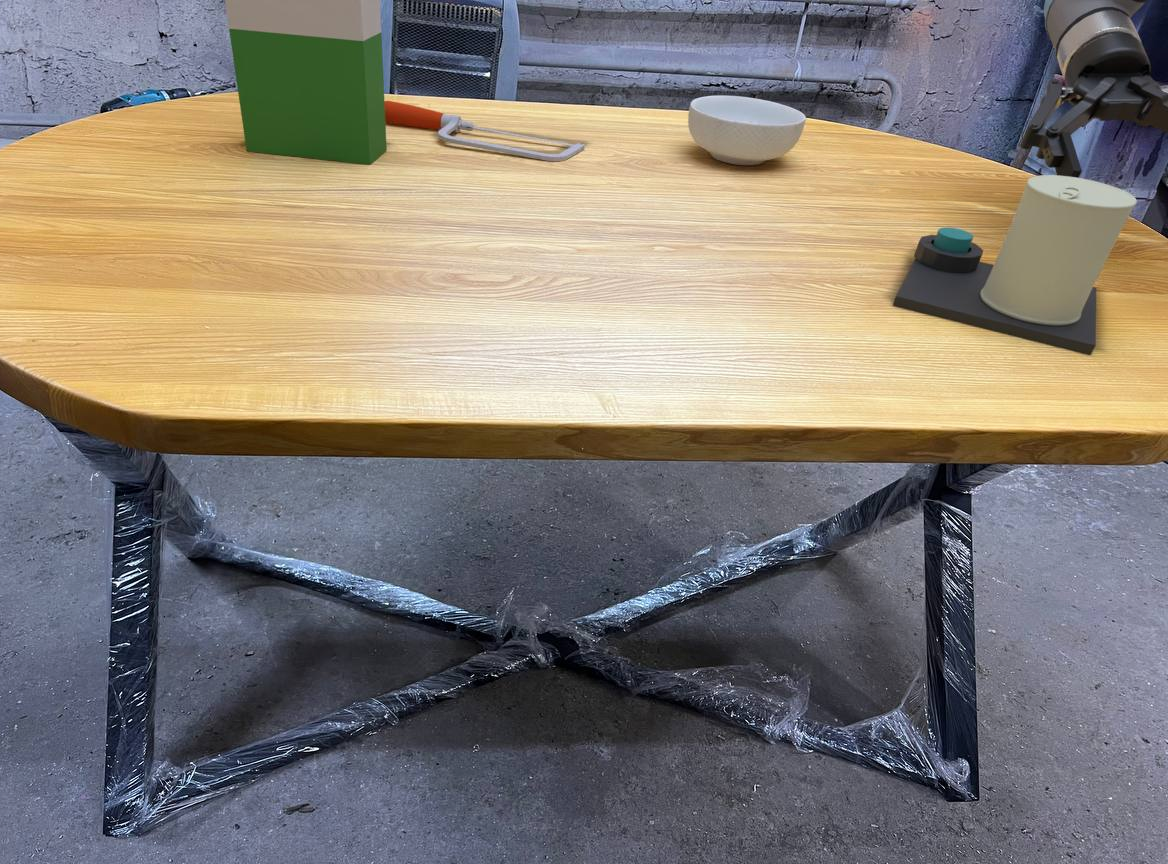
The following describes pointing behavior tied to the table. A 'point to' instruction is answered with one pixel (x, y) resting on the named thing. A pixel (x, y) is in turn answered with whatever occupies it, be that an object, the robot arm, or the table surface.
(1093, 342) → the scale
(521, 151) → the hand saw
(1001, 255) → the can
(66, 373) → the table surface
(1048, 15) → the robot arm
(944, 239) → the tare button
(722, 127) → the cereal bowl
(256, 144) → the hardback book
